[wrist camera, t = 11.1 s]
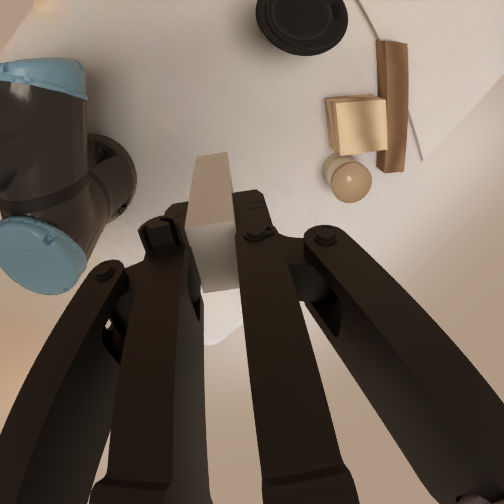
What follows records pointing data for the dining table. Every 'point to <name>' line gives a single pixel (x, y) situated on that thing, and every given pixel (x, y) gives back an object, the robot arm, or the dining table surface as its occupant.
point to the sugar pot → (347, 178)
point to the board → (393, 102)
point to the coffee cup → (302, 24)
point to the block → (356, 124)
